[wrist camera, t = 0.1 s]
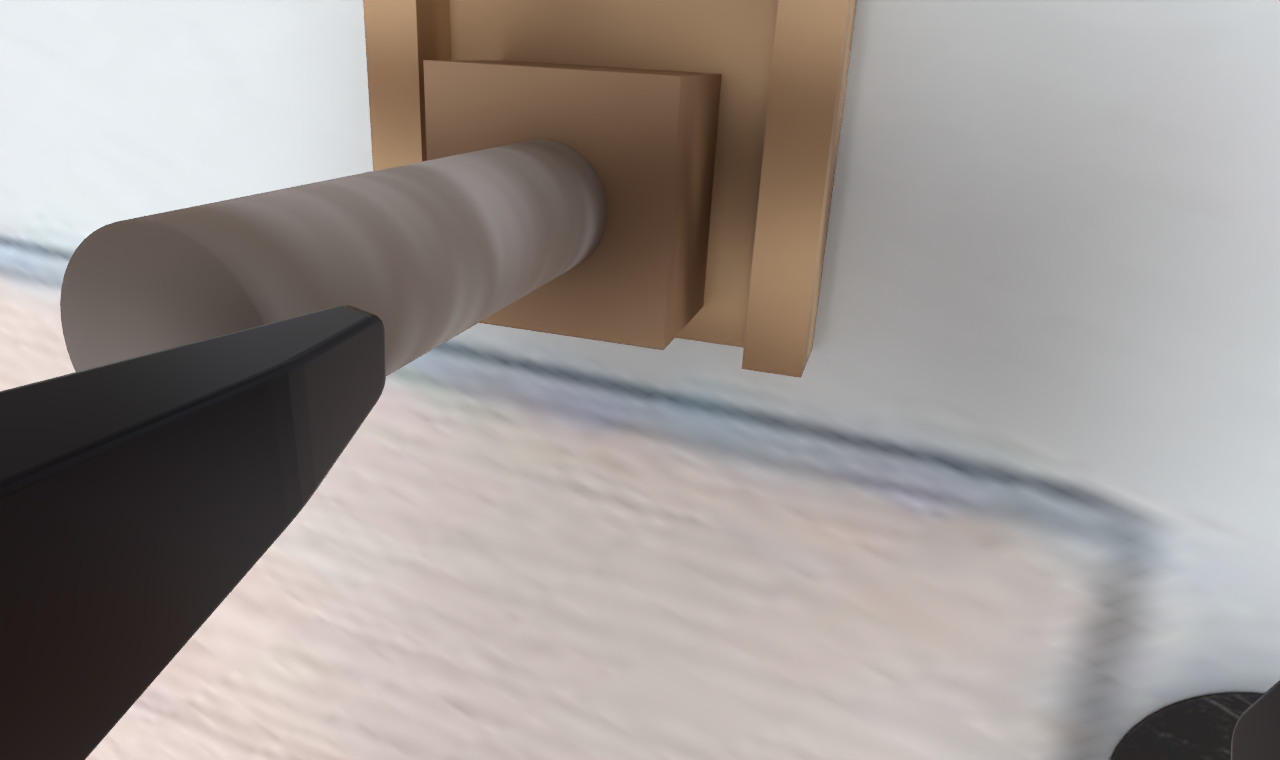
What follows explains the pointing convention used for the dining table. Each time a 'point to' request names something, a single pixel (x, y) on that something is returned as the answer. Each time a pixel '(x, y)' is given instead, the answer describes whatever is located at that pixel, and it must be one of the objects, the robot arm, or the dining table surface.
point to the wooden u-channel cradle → (746, 135)
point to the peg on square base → (442, 226)
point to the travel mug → (1188, 730)
